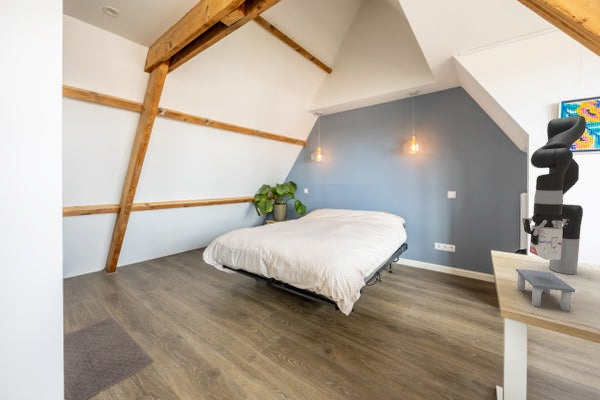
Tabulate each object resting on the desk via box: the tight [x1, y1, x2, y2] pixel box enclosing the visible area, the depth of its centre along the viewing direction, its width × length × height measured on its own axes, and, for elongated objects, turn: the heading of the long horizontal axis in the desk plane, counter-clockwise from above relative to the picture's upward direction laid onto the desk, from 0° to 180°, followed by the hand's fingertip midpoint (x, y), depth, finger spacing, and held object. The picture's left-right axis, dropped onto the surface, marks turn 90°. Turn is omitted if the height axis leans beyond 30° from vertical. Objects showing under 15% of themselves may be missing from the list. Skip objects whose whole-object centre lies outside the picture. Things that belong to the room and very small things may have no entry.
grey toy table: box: [515, 268, 576, 312], centre depth 93 cm, size 16×11×8 cm
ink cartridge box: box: [529, 220, 563, 261], centre depth 91 cm, size 9×5×15 cm, turn 168°
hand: (545, 244), depth 91 cm, fingers closed on ink cartridge box, 5 cm apart
